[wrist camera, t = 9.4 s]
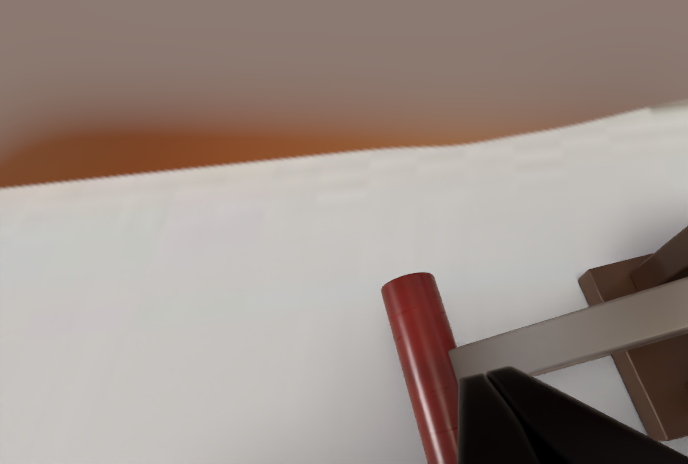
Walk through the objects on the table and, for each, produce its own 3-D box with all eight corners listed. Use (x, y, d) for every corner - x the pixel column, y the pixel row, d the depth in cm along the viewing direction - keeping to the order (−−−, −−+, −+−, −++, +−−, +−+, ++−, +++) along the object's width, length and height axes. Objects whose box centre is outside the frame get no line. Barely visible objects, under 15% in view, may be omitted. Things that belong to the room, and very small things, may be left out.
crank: (448, 494, 14) (427, 507, 11) (393, 300, 16) (368, 281, 14) (1078, 349, 10) (1210, 330, 8) (892, 130, 13) (958, 71, 10)
